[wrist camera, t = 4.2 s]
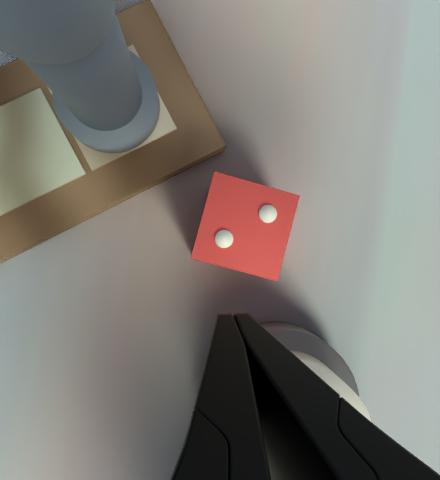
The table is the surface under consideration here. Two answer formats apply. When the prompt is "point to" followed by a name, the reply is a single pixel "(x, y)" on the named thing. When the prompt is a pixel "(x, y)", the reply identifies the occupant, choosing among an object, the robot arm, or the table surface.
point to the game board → (84, 158)
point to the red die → (245, 226)
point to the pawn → (84, 69)
